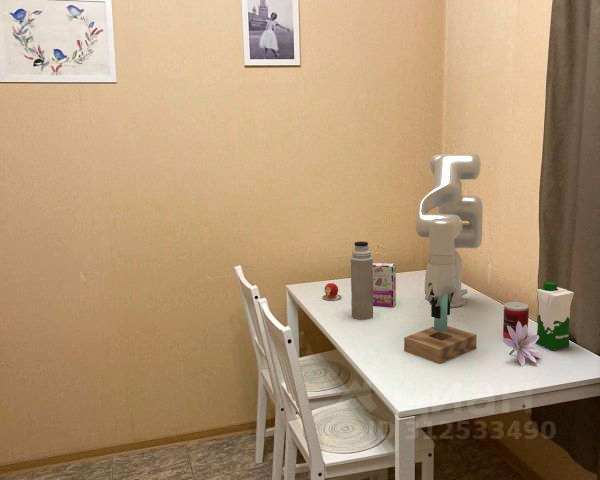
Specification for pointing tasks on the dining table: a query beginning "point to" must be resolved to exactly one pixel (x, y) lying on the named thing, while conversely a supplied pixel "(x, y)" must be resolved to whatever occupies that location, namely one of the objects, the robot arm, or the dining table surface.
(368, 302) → the thermos bottle
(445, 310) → the peg
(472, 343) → the socket block
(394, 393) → the dining table surface
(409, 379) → the dining table surface
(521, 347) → the water lily
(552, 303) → the milk carton
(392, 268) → the candy bar box
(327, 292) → the apple
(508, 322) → the canned food
